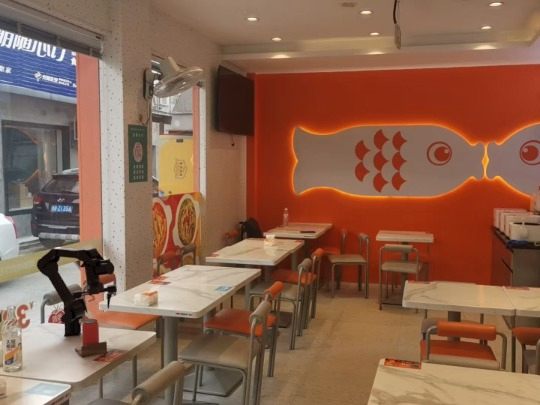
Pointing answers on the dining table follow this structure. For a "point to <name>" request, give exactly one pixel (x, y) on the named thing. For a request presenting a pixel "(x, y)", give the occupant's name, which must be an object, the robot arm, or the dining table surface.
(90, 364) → the dining table surface
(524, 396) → the dining table surface
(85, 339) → the beer can
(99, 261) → the robot arm
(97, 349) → the walnut backstop pad
